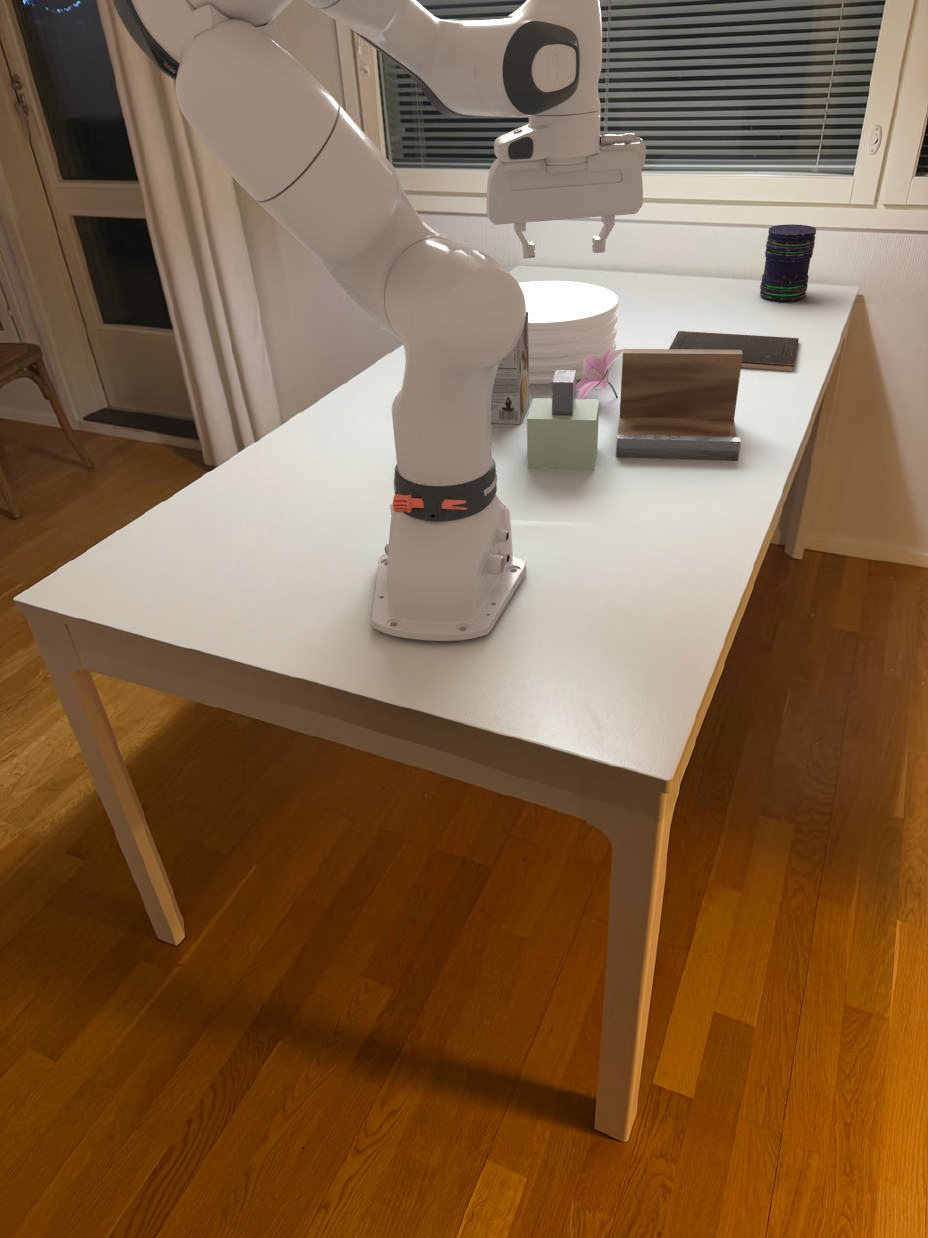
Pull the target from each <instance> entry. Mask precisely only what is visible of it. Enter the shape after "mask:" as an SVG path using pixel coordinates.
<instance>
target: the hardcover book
mask: <svg viewBox="0 0 928 1238" xmlns="http://www.w3.org/2000/svg"><path fill="white" fill-rule="evenodd" d="M799 341H800V339H799V337H787V336H786V337H785V336H772V335H771V336H768V335H752V334H738V333H722V332H721V333H720V332H719V333H718V332H707V331H705V332H702V331H686V330H685V331H684V330H678V331H677V333H676V335H675V337H674V339H673V341H672V342H671V345H670V346H669V348H668V349H702V350H742V353H743V356H742V363H741V368H745V369H746V368H747V369H760V370H761V369H762V370H763V369H764V370H776V371H789V372H791V371H793V368H794V365H795V361H796V356H797V351H798V345H799Z"/></svg>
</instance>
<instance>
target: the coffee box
mask: <svg viewBox="0 0 928 1238" xmlns="http://www.w3.org/2000/svg"><path fill="white" fill-rule="evenodd" d="M529 405H530V384H529V353H528V312H526V318H525V324H524V328H523V331H522V334H521V336H520V338H519V340H518V342H517V344H516V345H515V347H514V348H513V349H512V351H511V352H510V353H509V354H508V355H507V356H506V357H505V358H503V359H502V360H501V362H500V364H499V367H498V370H497V374H496V377H495V381H494V386H493V391H492V398H491V424H499V425H501V424H502V425H503V424H505V425H506V424H507V425H521V424H522V422H523V421H524V417H525V415H526V413H527V411H528V407H529Z"/></svg>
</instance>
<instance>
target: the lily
mask: <svg viewBox="0 0 928 1238" xmlns="http://www.w3.org/2000/svg"><path fill="white" fill-rule="evenodd" d="M613 345H614V341H613V342H612V343H611V344H610V345H609V346H608V347H607V349H606V350H605V351H604V353H603V354H602V356H601V357H600V356H598V355H595V354H589V355H587V356H586V357H585V359H584V362H583V373H584V375H585V377H584V378H583V379H580V381H579V382H578V383H576V392H577V391H578V393H577V395H576V399H585V397H586V395H587V394H589V392H590V391H591V390H592V389H593V388H594V389H598V390H606V389H607V386H608V385H609V386H610V388H611V389H612V392H613V394H614V396H615V397H616V398H617V399H618V398H619V397H618V394H617V392H616V390H615V388H614V386H613V385H612V384H611V382H610V381H609V370H610V369H609V368H610V367H611V366H612V365H613V364H614V362H615V361H616V360H617V359H618V358H619V357H620V356H621V354H623V349H617V350H616V349H615V351H613V352H611V351H612V348H613ZM612 363H613V364H612ZM611 364H612V365H611ZM610 365H611V366H610Z"/></svg>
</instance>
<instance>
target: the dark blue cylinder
mask: <svg viewBox="0 0 928 1238" xmlns="http://www.w3.org/2000/svg"><path fill="white" fill-rule="evenodd" d="M816 234H817V228H816V227H814V226H811V225H806V224H790V223H789V224H778V225H774V226H770V227H769V228H768V236H767V241H766V245H765V252H764V257H765V260H764V261H765V263H764V269H763V270H764V271H763V274H762V275H761V282H760V287H759V291H760V292H759V295H760V298H761V299H763V300H764V301H768V302H771V303H772V302H773V303H780V304H781V303H786V304H787V303H795V302H800V301H803V300H804V298H805V296H806V294H807V290H808V286H809V285H808V282H809V269H810V263H811V259H812V257H813V255H814V253H813V252H814V249H815V243H816V242H815V240H816Z"/></svg>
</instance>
